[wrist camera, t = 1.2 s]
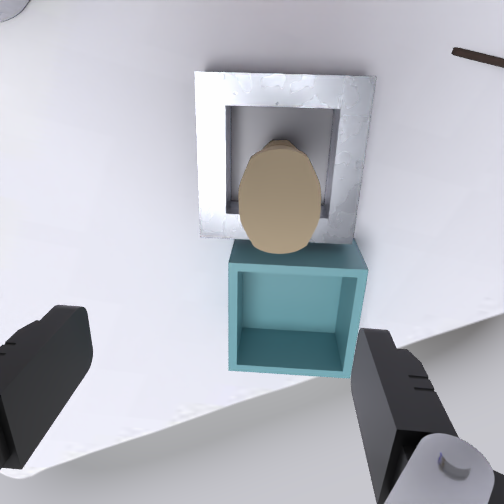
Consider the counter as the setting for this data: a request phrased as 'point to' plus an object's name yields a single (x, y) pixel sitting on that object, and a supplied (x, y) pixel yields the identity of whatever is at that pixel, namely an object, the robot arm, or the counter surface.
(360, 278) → the bin
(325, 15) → the counter surface
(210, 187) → the socket block
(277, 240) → the handle
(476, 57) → the sushi plate
